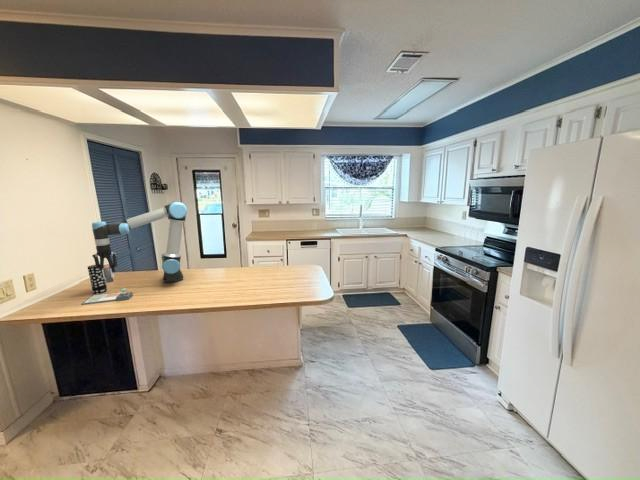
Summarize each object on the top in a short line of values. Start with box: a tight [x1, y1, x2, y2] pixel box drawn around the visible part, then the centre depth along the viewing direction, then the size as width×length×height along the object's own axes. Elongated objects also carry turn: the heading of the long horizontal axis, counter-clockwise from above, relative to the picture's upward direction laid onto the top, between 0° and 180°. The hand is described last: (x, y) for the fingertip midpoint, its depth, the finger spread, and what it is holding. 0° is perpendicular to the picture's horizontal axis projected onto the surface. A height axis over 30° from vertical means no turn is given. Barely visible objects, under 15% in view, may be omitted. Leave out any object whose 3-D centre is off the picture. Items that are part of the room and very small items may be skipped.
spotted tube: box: [87, 264, 108, 295], centre depth 195 cm, size 8×8×20 cm
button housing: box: [116, 291, 134, 302], centre depth 184 cm, size 7×7×3 cm
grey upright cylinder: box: [103, 263, 114, 284], centre depth 185 cm, size 4×4×12 cm
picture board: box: [81, 291, 122, 306], centre depth 185 cm, size 20×15×1 cm
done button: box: [119, 287, 128, 295], centre depth 183 cm, size 4×4×4 cm
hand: (109, 277), depth 186 cm, fingers closed on grey upright cylinder, 4 cm apart
